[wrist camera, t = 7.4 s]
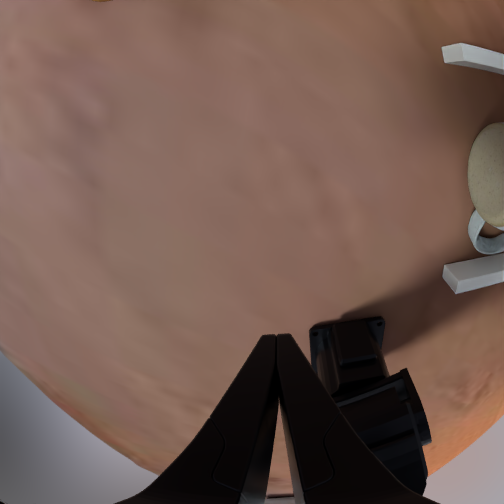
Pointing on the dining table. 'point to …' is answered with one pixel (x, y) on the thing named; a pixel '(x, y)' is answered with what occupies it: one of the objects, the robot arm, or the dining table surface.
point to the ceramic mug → (487, 187)
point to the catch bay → (494, 266)
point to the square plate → (280, 500)
